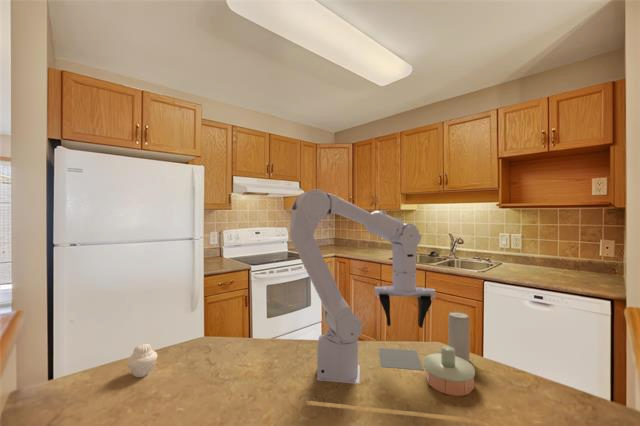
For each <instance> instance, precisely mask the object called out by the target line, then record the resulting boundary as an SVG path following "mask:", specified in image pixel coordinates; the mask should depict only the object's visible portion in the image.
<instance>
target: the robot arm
mask: <svg viewBox="0 0 640 426" xmlns="http://www.w3.org/2000/svg"><path fill="white" fill-rule="evenodd" d="M290 209H291V218H290V225H289V226H290V227H289V238H290V240H291V242H292V244H293V246H294V248H295V250H296V252H297V255H298V256H299V259H300V261H301V263H302V264H303V267H304V269H305V271H306V273H307V275H308V277H309V279H310V281H311V283H312V284H313V287H314V289H315V291H316V293H317V295H318V298H319V299H320V301H321V306H322V308H323V311H324V321H325V322H324V323H326V325H327V326H328V329H327V333H326V334H320V335H319V336H318V342H317V350H316V351H317V352H316V353H317V357H316V358H317V359H316V363H317V367H316V368H317V369H316V374H317V376H316V380H317V381H321V382H322V381H324V382H333V383H334V382H335V383H344V384H345V383H346V384H355V385H358V384H360V376H361V375H360V372H361V365H360V364H359V356H358V355H359V337H360V336H361V334H362V331H363V323H362V320H361V319H360V317H359V316H357V315H356V314H355V313H353V311H352V310H351V307H350V305H348V303H347V301H346V300H345V299H344V297H343V295H342V294H341V291H340V289H339V287H338V285H337V283H336V281H335V278H334V276H333V274H332V272H331V271H330V268H329V266H328V264H327V262H326V259H325V257H324V255H323V254H322V251H321V249H320V248H319V246H318V244H317V241H316V239H315V236H314V235H315V232H316V230H317V227H318V225H319V223H320V222H321V221H322V220H323V219H324V217H325V216H326V215H338V216H341V217H343V218H346V219H349V220H351V221H354V222H356V223H359V224H361V225H364V227H365V230H366V232H368V233H370V234H371V235H374V236H377V237H379V238H382V239H384V240H386V241H389V242H390V244H392V248H391V249H392V285H389V286H388V285H387V286H374V296H375V297H379V298H378V299H379V301H380V304H381V306H382V308H383V311H384V314H385V317H386V324H387V326H388V327H391V315H390V314H391V300H390V297H405V298H406V297H407V298H409V297H410V298H417V304H418V307H417V308H418V313H417V315H418V316H417V324H418V327H419V329H420V328H421V329H422V328H424V327H423V326H424V323H425V322H424V321H425V318H426V316H427V312H428V311H429V309H430V307H431V306H432V302H433V300H432V299H436V289H434V288H430V287H429V288H427V287H421V286H420V287H419V286H417V252H418V246H419V245H420V242H421V240H422V235H421V233H420V232H419V229H418V228H417V226H416V225H414V224H412V223H405V222H403V219H402V218H400V217H397V218H395V217H393V216H390V215H389V214H387V213H388V212H387V211H386V210H384V209H381V210H373V211H371V212H369V211H367V210H366V209H363V208H361V207H360V206H358V205H355V204H354V203H352V202H349V201H347V200H345V199H344V198H341V197H339V196H337V195H335V194H334V193H329V192H324V191H323V190H321V189H317V188H315V189H311V190H308V191H307V192H305V191H304V192H302V193H300V194H299V195H298V196H297V197H296V198H295V200H294V202H293V204H292V206H291V208H290Z"/></svg>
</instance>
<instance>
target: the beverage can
mask: <svg viewBox="0 0 640 426" xmlns="http://www.w3.org/2000/svg"><path fill="white" fill-rule="evenodd" d="M447 321H448V346H450V347H452V348H454V349H455V356H457V357H460V358H462V359H464V360H466V361H468V362H469V363H470V318H469V314H467V313H465V312H462V311H450V312H448V320H447Z"/></svg>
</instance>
